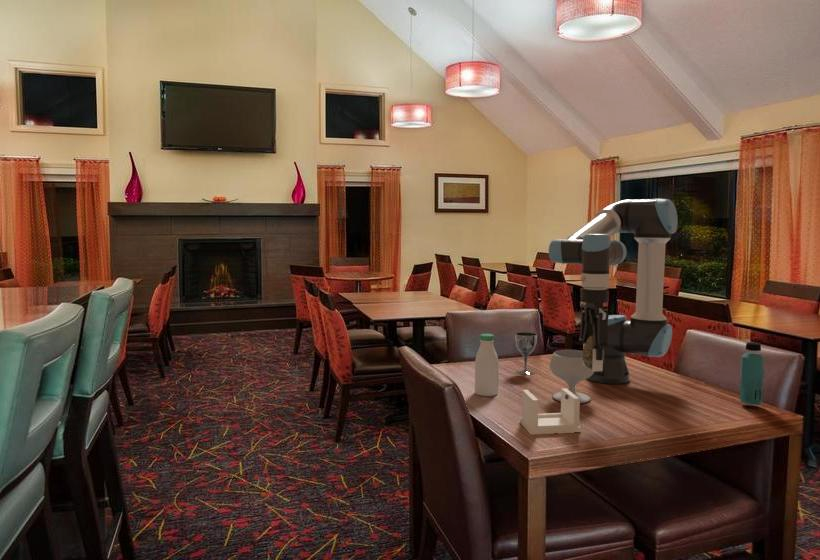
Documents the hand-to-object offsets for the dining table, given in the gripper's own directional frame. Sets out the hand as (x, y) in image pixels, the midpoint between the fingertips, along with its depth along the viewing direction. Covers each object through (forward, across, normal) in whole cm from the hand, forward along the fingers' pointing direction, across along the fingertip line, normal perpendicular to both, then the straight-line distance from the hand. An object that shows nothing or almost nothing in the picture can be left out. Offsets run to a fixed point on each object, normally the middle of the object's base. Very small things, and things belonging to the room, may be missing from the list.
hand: (592, 368), depth 171 cm
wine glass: (+15, -54, -2) cm, 57 cm away
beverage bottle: (+15, -6, +54) cm, 56 cm away
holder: (+15, +4, -14) cm, 21 cm away
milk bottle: (+15, -30, -24) cm, 41 cm away
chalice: (+15, -20, +2) cm, 26 cm away
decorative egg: (0, 0, 0) cm, 1 cm away
